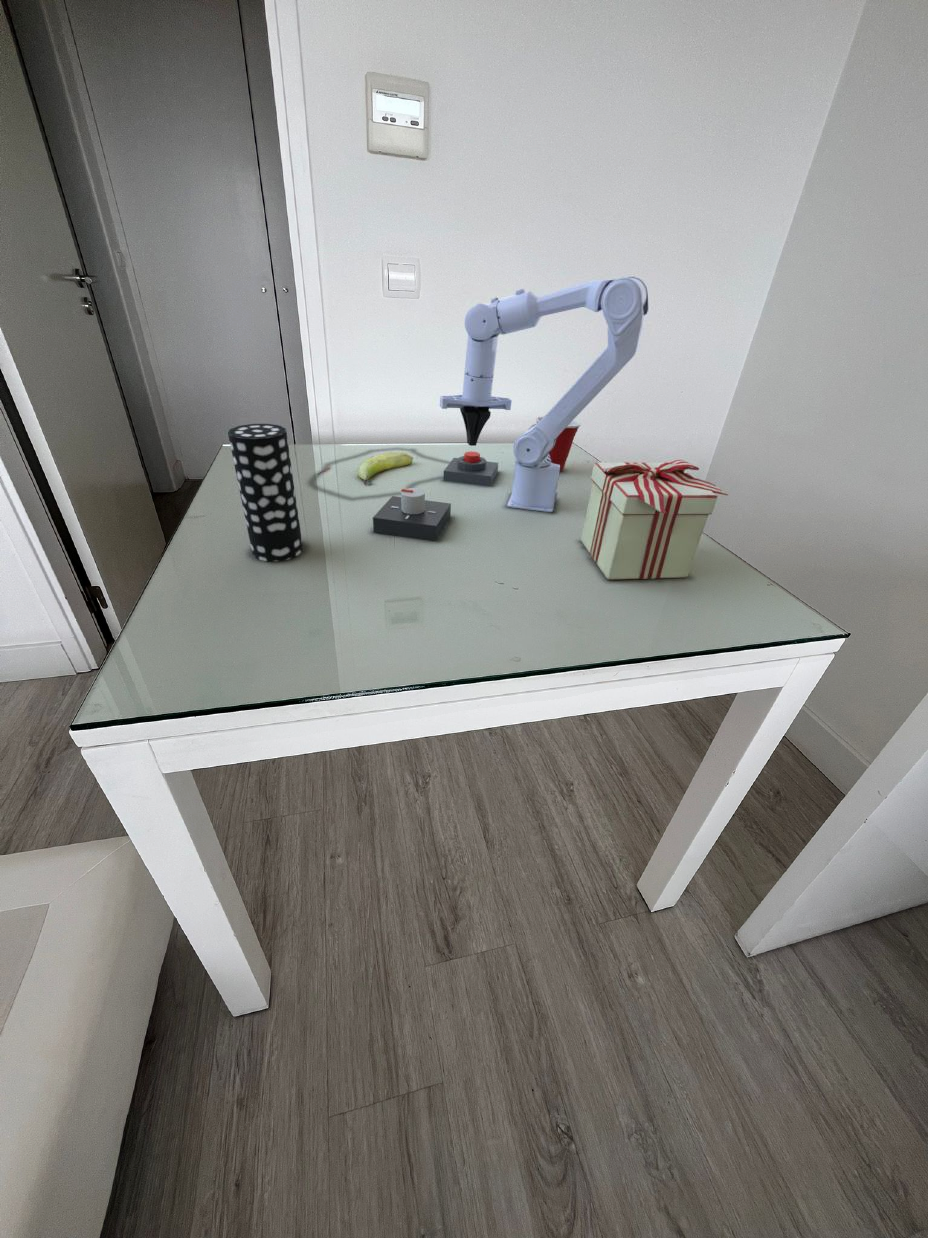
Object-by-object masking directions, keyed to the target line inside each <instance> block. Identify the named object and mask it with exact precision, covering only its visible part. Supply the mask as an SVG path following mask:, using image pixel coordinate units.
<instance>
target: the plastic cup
mask: <svg viewBox="0 0 928 1238" xmlns="http://www.w3.org/2000/svg"><path fill="white" fill-rule="evenodd" d="M543 417H544V416H537V417H535V421H536V424H537V423H538V422H539V421H540V420H541V419H542V418H543ZM581 425H582V423H581V422H580V421H578V420H575V419H574V420H573V421H572V422H571V423H570V424H569V425H568V426H567V427H566V428H565V429H564V430H563V431H562V432H561V433H560V434H559V436H558V437H557V439H556V442H555V445H554V447H553V448H552V450H551V451H549V455H550V459H551V463H553V464H558V465H560V471H559V473H562V472H563V471H564V469H565V466H566V463H567V459H568V458H569V454H570V451H571V448H572V446H573V443H574V439H575V437H576V434H577V432H578V430H579V428H580V427H581Z"/></svg>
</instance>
